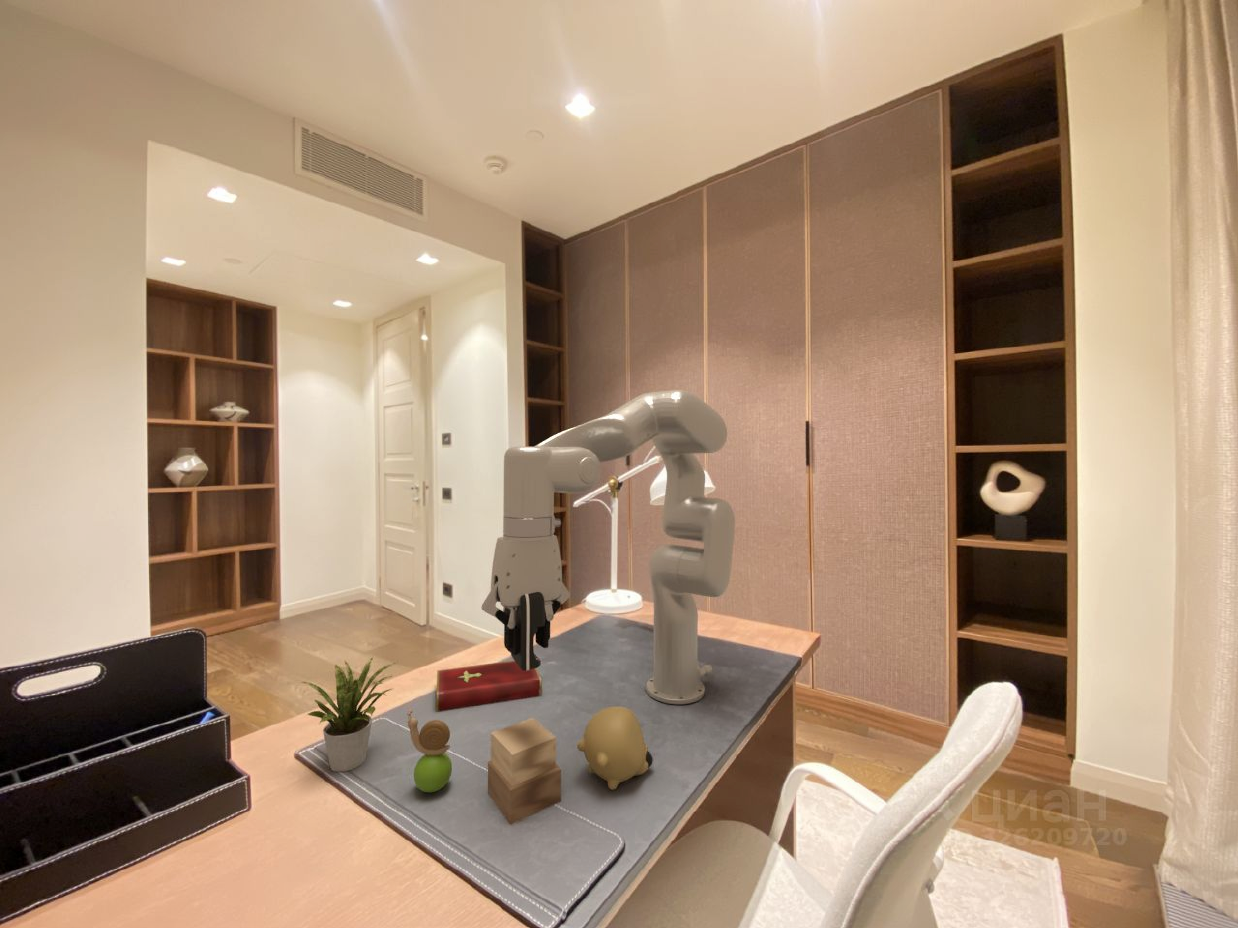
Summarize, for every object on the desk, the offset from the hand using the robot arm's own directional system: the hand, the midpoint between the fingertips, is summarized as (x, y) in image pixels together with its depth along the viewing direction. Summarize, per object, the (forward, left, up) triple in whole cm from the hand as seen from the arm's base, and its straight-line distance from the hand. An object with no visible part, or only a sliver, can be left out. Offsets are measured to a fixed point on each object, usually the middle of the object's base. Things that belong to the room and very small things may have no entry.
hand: (527, 647), depth 75 cm
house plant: (+20, -23, -22) cm, 37 cm away
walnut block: (+1, +1, -22) cm, 22 cm away
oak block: (+1, +1, -17) cm, 17 cm away
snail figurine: (+12, -9, -22) cm, 26 cm away
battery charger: (0, 0, -3) cm, 3 cm away
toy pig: (-13, +5, -22) cm, 26 cm away
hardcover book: (-7, -34, -22) cm, 42 cm away
